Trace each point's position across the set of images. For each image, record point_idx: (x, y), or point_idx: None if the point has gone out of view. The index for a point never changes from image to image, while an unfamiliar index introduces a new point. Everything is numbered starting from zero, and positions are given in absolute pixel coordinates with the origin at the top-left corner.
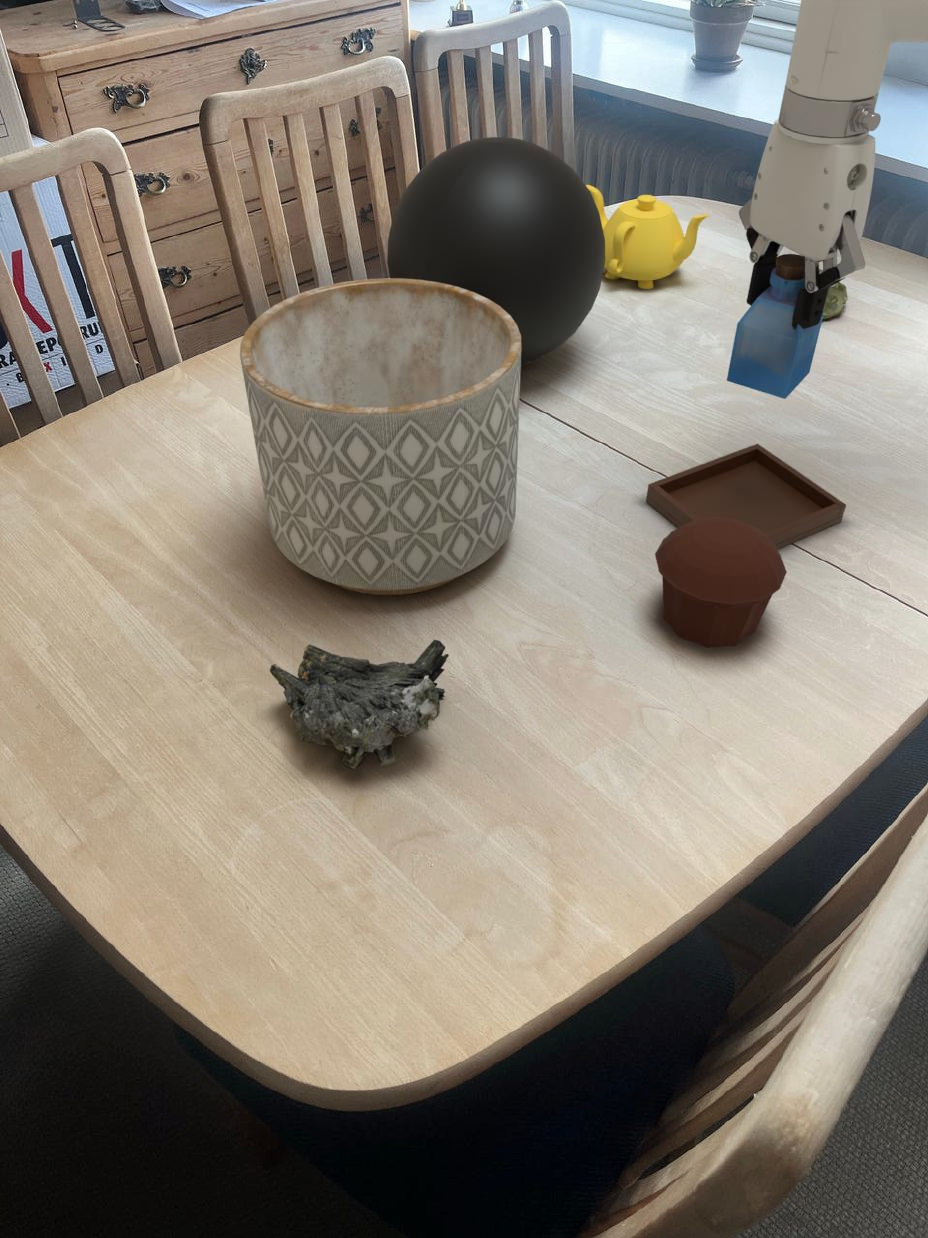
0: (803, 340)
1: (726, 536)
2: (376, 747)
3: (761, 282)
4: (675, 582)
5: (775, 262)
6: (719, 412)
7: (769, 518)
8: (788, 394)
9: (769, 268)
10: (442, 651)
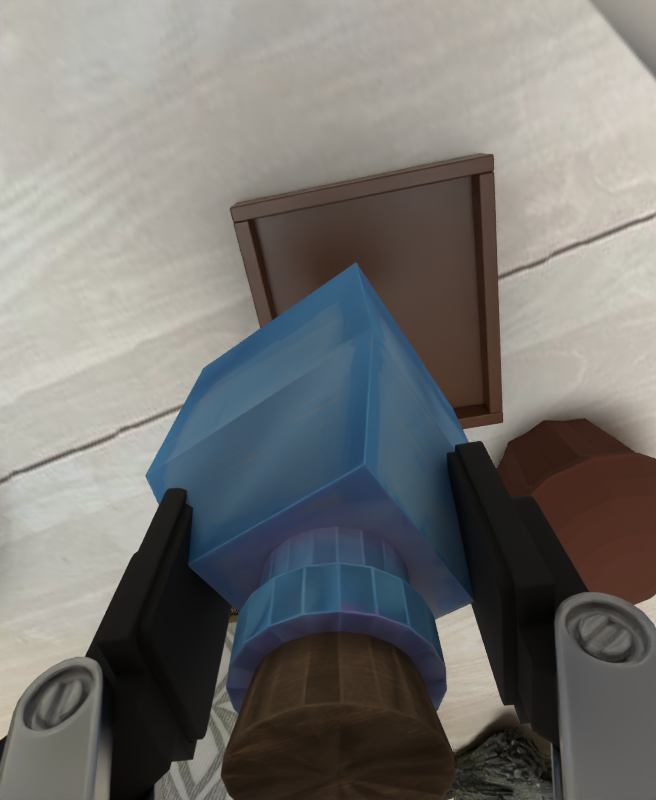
0: None
1: (634, 579)
2: None
3: (211, 645)
4: None
5: (152, 670)
6: (40, 171)
7: (427, 295)
8: (444, 396)
9: (185, 683)
10: (532, 770)
